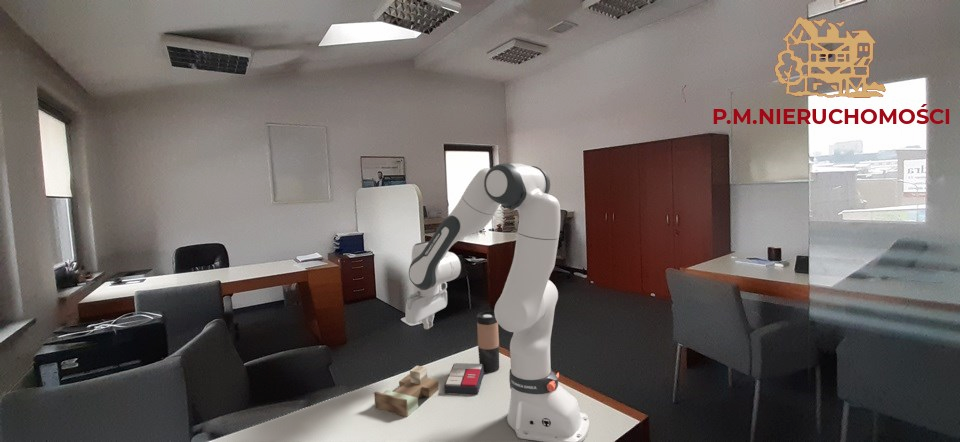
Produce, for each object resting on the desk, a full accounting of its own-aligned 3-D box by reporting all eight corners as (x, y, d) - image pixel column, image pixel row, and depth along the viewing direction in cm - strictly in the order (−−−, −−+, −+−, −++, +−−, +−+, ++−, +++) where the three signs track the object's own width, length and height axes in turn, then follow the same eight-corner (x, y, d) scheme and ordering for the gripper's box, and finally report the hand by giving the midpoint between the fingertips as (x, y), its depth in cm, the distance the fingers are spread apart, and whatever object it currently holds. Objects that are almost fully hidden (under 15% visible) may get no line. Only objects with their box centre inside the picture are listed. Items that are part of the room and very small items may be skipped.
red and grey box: (443, 384, 126) (453, 361, 140) (444, 396, 126) (454, 372, 141) (477, 385, 124) (483, 361, 139) (477, 397, 124) (484, 373, 139)
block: (427, 379, 130) (426, 367, 130) (420, 384, 126) (419, 372, 126) (417, 376, 132) (417, 365, 131) (410, 382, 128) (409, 370, 128)
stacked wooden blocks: (438, 389, 129) (438, 374, 128) (406, 417, 114) (405, 400, 113) (409, 382, 134) (408, 368, 134) (375, 408, 119) (374, 392, 119)
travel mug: (504, 367, 142) (502, 314, 141) (490, 375, 137) (487, 319, 135) (488, 361, 148) (486, 310, 146) (474, 369, 142) (472, 315, 141)
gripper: (415, 297, 122) (417, 339, 123) (449, 282, 140) (451, 319, 142) (399, 295, 125) (401, 337, 126) (434, 280, 143) (436, 317, 144)
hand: (428, 327), depth 134 cm, fingers closed
